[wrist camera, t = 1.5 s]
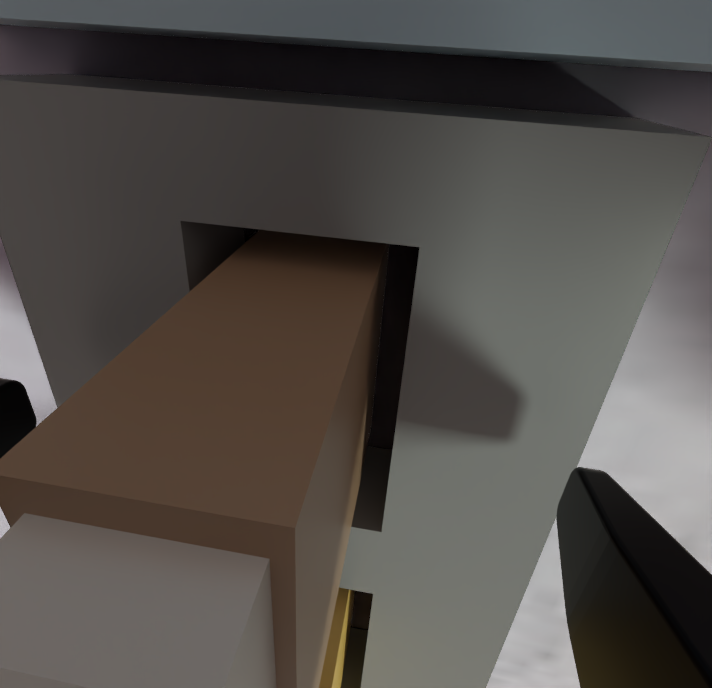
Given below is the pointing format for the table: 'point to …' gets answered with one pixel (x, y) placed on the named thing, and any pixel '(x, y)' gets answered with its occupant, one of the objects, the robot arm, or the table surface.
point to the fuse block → (429, 306)
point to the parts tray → (414, 26)
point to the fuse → (338, 640)
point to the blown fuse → (200, 484)
